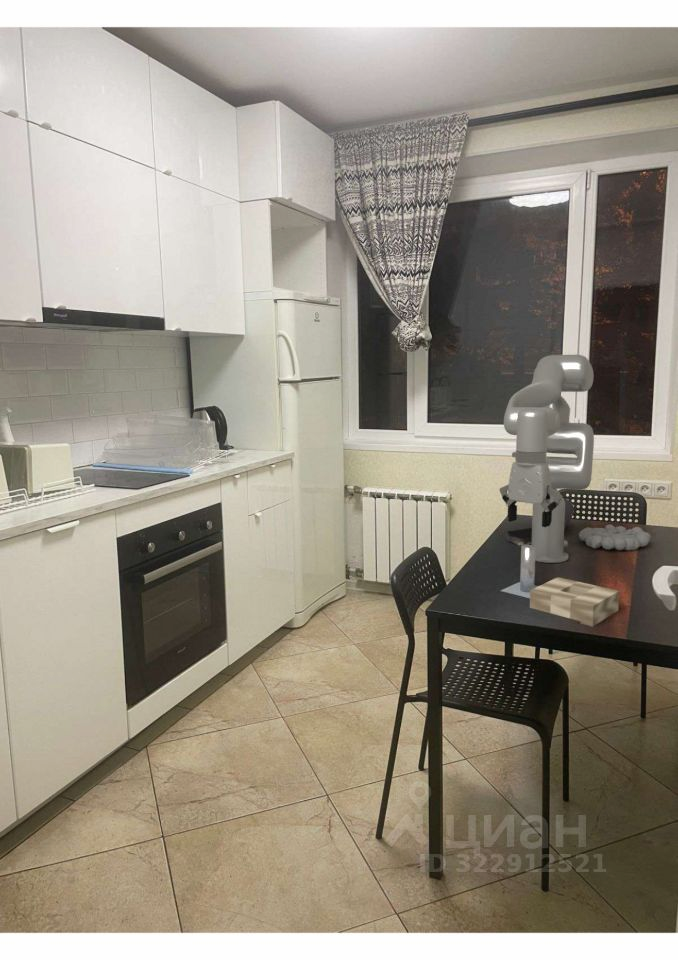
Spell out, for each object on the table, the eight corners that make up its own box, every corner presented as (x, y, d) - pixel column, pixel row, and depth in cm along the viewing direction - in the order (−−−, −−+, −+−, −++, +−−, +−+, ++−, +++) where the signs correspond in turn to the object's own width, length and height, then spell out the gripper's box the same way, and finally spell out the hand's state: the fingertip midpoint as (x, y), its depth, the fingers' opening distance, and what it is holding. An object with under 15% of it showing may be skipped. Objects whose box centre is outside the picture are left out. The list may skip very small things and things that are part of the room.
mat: (520, 583, 185) (520, 581, 185) (553, 591, 178) (553, 589, 178) (500, 592, 178) (500, 590, 178) (534, 601, 171) (534, 599, 171)
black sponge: (541, 536, 237) (541, 526, 236) (558, 541, 229) (558, 531, 228) (503, 542, 230) (503, 531, 229) (520, 547, 222) (520, 537, 222)
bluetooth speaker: (567, 537, 233) (568, 509, 231) (539, 535, 237) (540, 507, 235) (575, 523, 253) (576, 497, 251) (549, 521, 257) (550, 495, 255)
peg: (524, 587, 181) (525, 543, 179) (536, 590, 178) (538, 546, 176) (517, 590, 178) (518, 546, 176) (529, 593, 176) (531, 548, 174)
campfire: (639, 558, 208) (640, 539, 207) (570, 548, 220) (571, 530, 219) (656, 543, 225) (657, 525, 224) (591, 534, 237) (592, 518, 236)
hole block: (557, 595, 175) (557, 577, 174) (618, 610, 164) (619, 590, 163) (529, 609, 166) (530, 590, 165) (592, 626, 154) (593, 605, 154)
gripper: (493, 456, 175) (492, 521, 178) (555, 462, 163) (552, 531, 166) (509, 454, 181) (507, 516, 183) (569, 459, 169) (567, 526, 171)
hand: (528, 523), depth 175 cm, fingers open, 9 cm apart
